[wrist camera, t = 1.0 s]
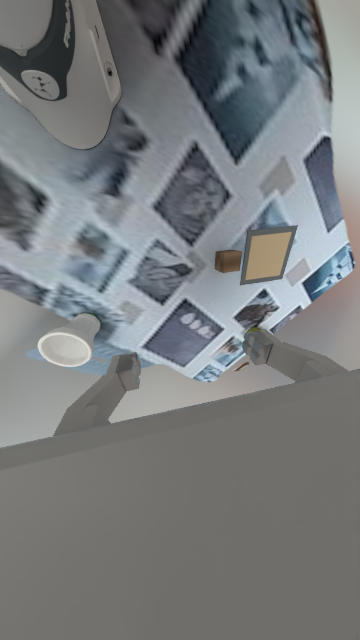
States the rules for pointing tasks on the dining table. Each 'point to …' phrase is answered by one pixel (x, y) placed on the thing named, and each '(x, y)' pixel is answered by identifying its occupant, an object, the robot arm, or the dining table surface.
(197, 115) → the dining table surface
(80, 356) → the cup
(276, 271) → the coaster mat
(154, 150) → the dining table surface
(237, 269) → the walnut block
